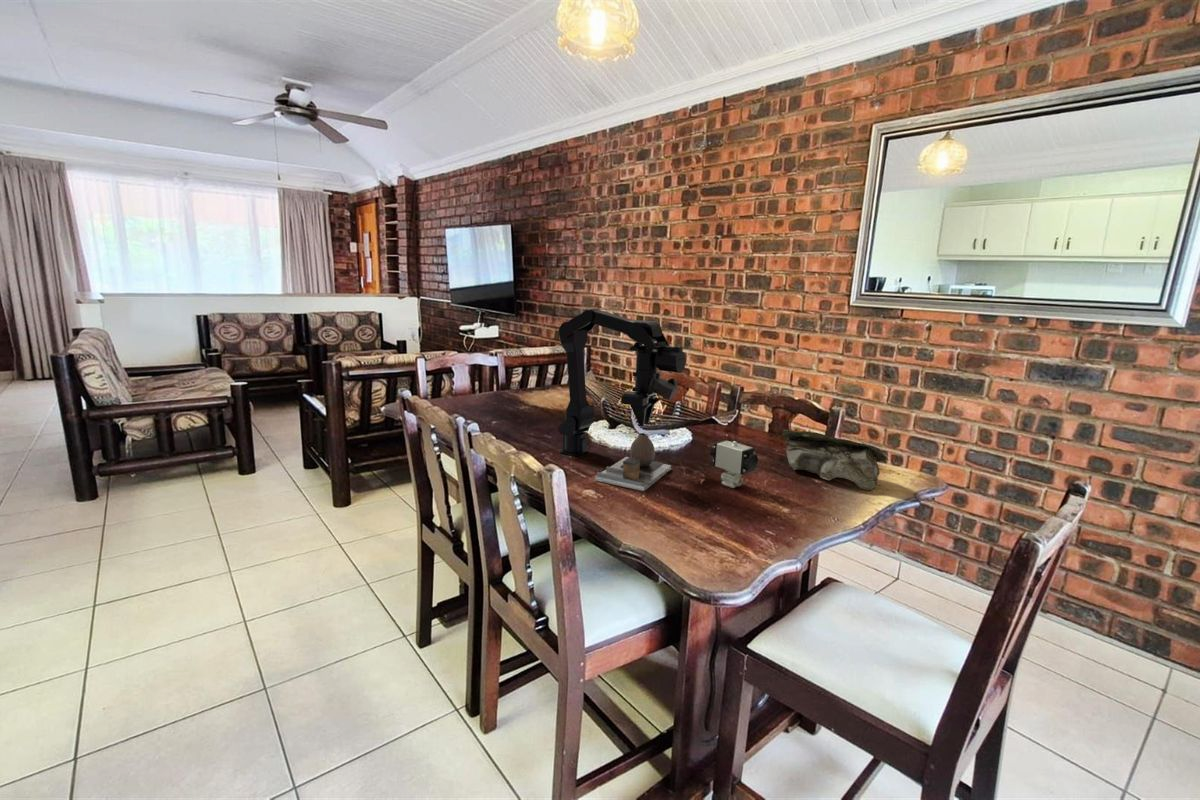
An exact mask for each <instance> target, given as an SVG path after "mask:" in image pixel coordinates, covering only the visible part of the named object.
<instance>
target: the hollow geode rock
mask: <svg viewBox="0 0 1200 800" xmlns="http://www.w3.org/2000/svg"><path fill="white" fill-rule="evenodd" d="M781 437H783V438H784V437H785V438H786V440H785V446H786V447H785V448H786V449H785V452H786V457H787V461H788V464H789V466H791V469H793V470H794V471H797V470H798V471H799V470H801V471H807V472H810V473H812V474H816V475H817V476H819V478H821V479H823V480H826V481H831V480H833V479H836V478H840V479H841V478H843V479H845V480H846V479H847V480H849V481H852V482H853V483H854V484H855V485H856V486H857V487H858V488H860V489H862V490H866V491H867V490H872V489H874V488H876V487H877V485H878V479H879V478H878V477H879V475H880V468H879V465H878V463H879V462H884V463H886V461H890V459H889V458H888V456H886V455H884V454H883V453H882V452H881V450H880V448H879V447H877V446H874V445H870V444H868V443H865V442H856V441H854V440H850V439H845V438H838V437H835V436H830V435H826V434H822V433H818V432H812V431H806V430H801V431H796V430H791V429H790V430H789V429H782V433H781Z"/></svg>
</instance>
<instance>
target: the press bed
mask: <svg viewBox="0 0 1200 800" xmlns="http://www.w3.org/2000/svg"><path fill="white" fill-rule="evenodd" d="M627 458H629V456H625V457H624V458H622V459H620V460H619V461H617V462H615V463H614V464H612V465H610V466H606V467H605V470H603V471H601V472H600V471H599V472H596V475H595V476H594V481H595V482H600V483H605V484H610V485H614V486H618V487H622V488H627V489H631V490H636V491H640V492H645V491H646V490H648V489H649V488H650V487H651V486H652V485H654V484H655V483H656V482H657V481H659V480H660V479H661V478H662V477H663V476H665V475H666V474H667V473H668V472H670V471H671V470H672V465H670V464H666V463H664V462H660V461H654V460H653V461H652V463H651V464H650V465H648V466H644V467H641V466H640V469H639V479H637V480H633V479H628V478H624V477H623V465H624V464H623V461H624V460H626V459H627Z"/></svg>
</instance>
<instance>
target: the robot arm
mask: <svg viewBox="0 0 1200 800" xmlns="http://www.w3.org/2000/svg"><path fill="white" fill-rule="evenodd" d="M596 325H597V326H599V327H603V328H606V329H609V330H612V331H615V332H619V333H621V334H624V335H626V337H628V338H629V339H631V340H632V341H634V342H635V343H633V345H632V346H631V347H629V351H631V352H636V357H635V371H634V372H632V376H633V377H635V382H634V386H633V387H632V388H631V389H632V390H629V391H627V392H624V393H622V394H621V396H620V404H621V405H628V406H630V409H631V410H632V412H633V414H634V417H635V419H636V421H637V423H638V426H639V427H644V425H645V424H649V423H650V420H651V417H652V413H653V411H654V408H655V406H656V404H657V403H658V402H660V401H661V400H662V399H665V400H671V399H673V398H674V397H675V395H676V392H678V391H679V385H678V382H677V381H678V380H677V379H676V378H673V377H672V378H669V379H668V380H667V379H664V378H662V377H661V373H660V372H659V371H663V372H669V373H675V374H681V373H682V372H683V371H684V370H685V368H686V365H687V358H686V354H685V352H684V351H683V349H684V348H683V346H680V345H679V346H678V345H676V346H672V345H671V344H670V343H669V341H668V340H667V338H666V336H665V335H664V333H663V329H662V327H661V324H660V323H659V321H658V322H657V321H653V320H643V319H642V320H640V319H639V320H638V319H637V320H636V319H631V318H629V317H625V316H620V315H618V314H614V313H610V312H607V311H604V310H601V309H599V308H586V309H585V310H584V311H583V312H582V313H580V314H579V315H576V316H574V317H572V318H570V319H569V320H568V321H564V322H562V323H561V324H560V326H559V327H558V337H559V341H560V345H561V346H562V348H563V349H564V351H565V354H566V365H567V378H568V390H569V391H568V392H569V402H568V404H567V407H566V409H565V410H566V411H565V418H564V419H565V420H564V421H563V422H562V423H561V424H560V425H559V426H558V427H557V428H558V429H557V430H558V433H559V434H560V435H562V449H560V450H559V453H561V454H566V455H570V456H575V457H579V456H580V455H582V454H584V453H586V452H588V451H589V449H588V448H587V442H588V441H587V439H588V438H587V437H586V432H588V431H589V429H590V427H591V426H592V424H593V423H594V419H595V418H596V415H595V405H594V404H591V403H590V402H589V400H588V399H587V391H586V390H587V389H586V375H585V362H584V360H585V359H584V350H585V347H586V345H587V342H588V333H589V332H591V331H592V330H594V328H595V327H596ZM658 370H659V371H658ZM658 396H660V397H658Z"/></svg>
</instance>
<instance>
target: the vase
mask: <svg viewBox="0 0 1200 800" xmlns="http://www.w3.org/2000/svg"><path fill="white" fill-rule="evenodd" d="M629 448H630V449H629V456H630V458H635V459H640V466H641V467H644V466H648V465H650V464H651V463H652V461H654V459H655V454H656V450H655V449H656V448H655V445H654V444H653V441H652V440H651V439H650V438H649V435H648V434H647V433H645V432H641V433H638V435H637V437H636V438H635V439H634V440H633V442H632V443H631V445H630V447H629Z"/></svg>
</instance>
